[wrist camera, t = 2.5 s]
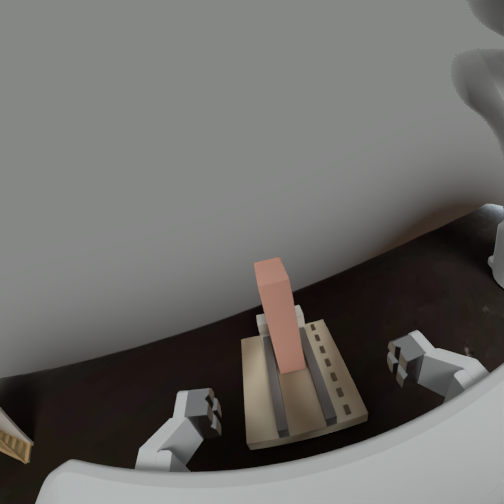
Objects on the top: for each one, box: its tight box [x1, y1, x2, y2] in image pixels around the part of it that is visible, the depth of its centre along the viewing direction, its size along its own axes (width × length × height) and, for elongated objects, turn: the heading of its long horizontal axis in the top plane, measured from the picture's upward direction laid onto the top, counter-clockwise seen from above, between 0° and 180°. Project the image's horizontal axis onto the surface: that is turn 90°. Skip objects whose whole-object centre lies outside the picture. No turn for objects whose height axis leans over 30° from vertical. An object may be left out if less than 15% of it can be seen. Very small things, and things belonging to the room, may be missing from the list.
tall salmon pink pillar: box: [254, 257, 306, 374], centre depth 30 cm, size 3×6×12 cm, turn 3°
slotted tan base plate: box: [241, 305, 368, 450], centre depth 29 cm, size 12×18×5 cm
